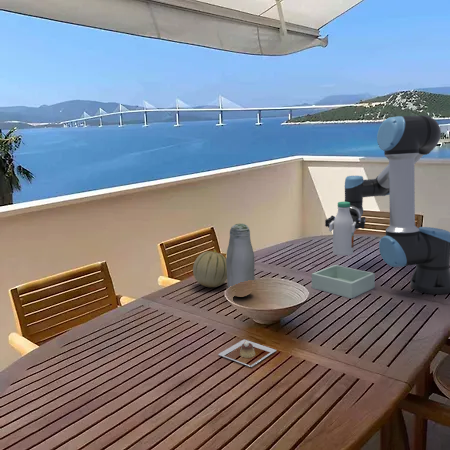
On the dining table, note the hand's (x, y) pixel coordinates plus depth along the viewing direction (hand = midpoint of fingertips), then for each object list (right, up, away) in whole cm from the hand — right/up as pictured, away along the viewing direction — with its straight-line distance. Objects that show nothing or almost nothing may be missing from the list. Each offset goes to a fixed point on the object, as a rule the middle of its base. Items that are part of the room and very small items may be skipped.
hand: (341, 228), depth 176 cm
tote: (+3, -23, +9) cm, 25 cm away
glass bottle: (-37, -26, +4) cm, 45 cm away
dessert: (-37, -36, -41) cm, 66 cm away
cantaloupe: (-49, -24, +16) cm, 57 cm away
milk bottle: (+2, -10, +7) cm, 12 cm away
